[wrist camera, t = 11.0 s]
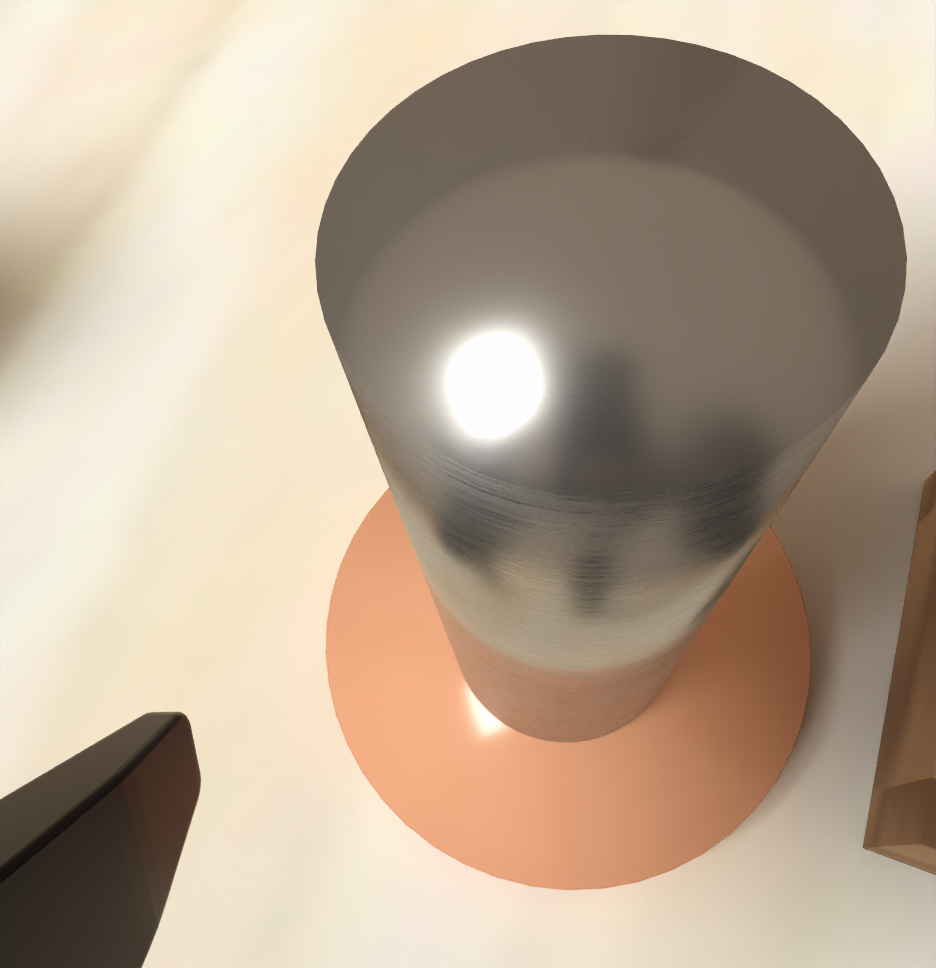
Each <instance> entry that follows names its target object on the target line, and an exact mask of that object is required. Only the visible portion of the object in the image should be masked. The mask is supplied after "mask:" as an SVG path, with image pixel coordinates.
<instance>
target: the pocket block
mask: <svg viewBox="0 0 936 968" xmlns="http://www.w3.org/2000/svg"><path fill="white" fill-rule="evenodd" d="M863 848H864V849H867V850H870V851H873V852H875V853H878V854H881V855H883V856H886V857H889V858H892V859H894V860H897V861H900V862H902V863H905V864H908V865H910V866H913V867H916V868H919V869H921V870H924V871H927V872H929V873H932V874H935V875H936V471H935V472H934V473H933V474H932V475H931V476H930V477H929V478H928V479H927V480H926V481H925V483H924V489H923V495H922V501H921V507H920V513H919V519H918V525H917V531H916V537H915V543H914V549H913V554H912V560H911V566H910V572H909V578H908V584H907V590H906V596H905V602H904V608H903V614H902V620H901V625H900V631H899V637H898V643H897V649H896V655H895V661H894V667H893V673H892V679H891V685H890V691H889V696H888V702H887V708H886V714H885V720H884V726H883V732H882V738H881V744H880V750H879V756H878V762H877V767H876V773H875V779H874V785H873V791H872V797H871V803H870V809H869V815H868V821H867V827H866V832H865V838H864V844H863Z"/></svg>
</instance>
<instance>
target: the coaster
mask: <svg viewBox="0 0 936 968" xmlns="http://www.w3.org/2000/svg"><path fill="white" fill-rule="evenodd" d="M326 660H327V670H328V681H329V686H330V691H331V695H332V700H333V704H334V708H335V713H336V716H337V718H338V721H339V724H340V726H341V729H342V732H343V734H344V737H345V740H346V742H347V745H348V746H349V748H350V750H351V752H352V754H353V756H354V758H355V759H356V761H357V763H358V765H359V767H360V769H361V771H362V772H363V774H364V775H365V777H366V778H367V779H368V781H369V782H370V784H371V785H372V786H373V788H374V789H375V790H376V792H377V793H378V795H379V796H380V797H381V799H382V800H383V801H384V802H385V803H386V804H387V805H388V806H389V807H390V808H391V809H392V810H393V812H394V813H395V814H396V815H397V816H398V817H399V818H400V819H401V820H402V821H403V822H404V823H405V824H406V825H407V826H408V827H410V828H411V829H412V830H414V831H415V832H416V833H417V834H419V835H420V836H421V837H422V838H424V839H425V840H426V841H427V842H429V843H430V844H431V845H433V846H434V847H436V848H437V849H439V850H441V851H443V852H444V853H446V854H448V855H449V856H451V857H453V858H454V859H456V860H458V861H460V862H461V863H463V864H465V865H468V866H470V867H472V868H475V869H477V870H480V871H482V872H485V873H487V874H489V875H492V876H494V877H497V878H501V879H505V880H509V881H513V882H517V883H521V884H525V885H528V886H534V887H543V888H553V889H562V890H579V889H603V888H609V887H614V886H619V885H625V884H630V883H635V882H639V881H642V880H645V879H648V878H651V877H654V876H657V875H660V874H662V873H665V872H668V871H671V870H673V869H675V868H677V867H679V866H681V865H683V864H685V863H687V862H688V861H690V860H692V859H694V858H696V857H698V856H700V855H702V854H703V853H705V852H706V851H708V850H709V849H710V848H712V847H713V846H714V845H716V844H717V843H718V842H720V841H721V840H723V839H724V838H725V837H727V836H728V835H729V834H731V833H732V832H733V831H734V830H735V829H736V828H737V827H738V826H739V825H740V824H741V823H742V822H743V821H744V820H745V819H746V818H747V817H748V816H749V815H750V814H751V813H752V812H753V811H754V810H755V809H756V807H757V806H758V805H759V803H760V802H761V801H762V799H763V798H764V797H765V795H766V794H767V793H768V791H769V790H770V789H771V787H772V786H773V785H774V783H775V782H776V780H777V778H778V776H779V774H780V773H781V771H782V769H783V767H784V765H785V763H786V761H787V759H788V758H789V756H790V754H791V752H792V749H793V746H794V743H795V741H796V738H797V735H798V732H799V729H800V727H801V724H802V721H803V716H804V711H805V706H806V701H807V696H808V691H809V680H810V663H811V652H810V640H809V627H808V621H807V617H806V612H805V607H804V603H803V598H802V594H801V591H800V588H799V586H798V583H797V580H796V577H795V574H794V572H793V569H792V566H791V564H790V562H789V560H788V558H787V556H786V554H785V552H784V550H783V548H782V546H781V544H780V542H779V540H778V538H777V537H776V535H775V534H774V532H773V531H772V529H771V528H770V527H768V528H767V530H766V531H765V533H764V534H763V536H762V537H761V539H760V540H759V542H758V543H757V545H756V546H755V548H754V549H753V551H752V552H751V554H750V555H749V557H748V558H747V560H746V561H745V563H744V564H743V566H742V567H741V569H740V570H739V572H738V573H737V575H736V576H735V578H734V579H733V581H732V582H731V584H730V585H729V587H728V588H727V590H726V591H725V593H724V594H723V596H722V597H721V599H720V600H719V602H718V603H717V605H716V606H715V608H714V609H713V611H712V612H711V614H710V615H709V617H708V618H707V620H706V621H705V623H704V624H703V626H702V627H701V629H700V630H699V632H698V633H697V635H696V636H695V638H694V639H693V641H692V642H691V644H690V645H689V647H688V648H687V650H686V651H685V653H684V654H683V656H682V657H681V659H680V660H679V662H678V663H677V665H676V666H675V668H674V669H673V671H672V672H671V674H670V675H669V677H668V678H667V680H666V681H665V683H664V684H663V686H662V687H661V689H660V690H659V692H658V693H657V695H656V696H655V698H654V699H653V701H652V702H651V703H650V704H649V705H648V707H647V708H646V709H645V710H644V711H643V712H642V713H641V714H640V715H639V716H637V717H636V718H635V719H634V720H633V721H632V722H630V723H628V724H627V725H625V726H624V727H622V728H621V729H619V730H617V731H615V732H612V733H610V734H608V735H606V736H603V737H599V738H596V739H593V740H588V741H581V742H564V743H561V742H552V741H545V740H541V739H537V738H533V737H530V736H527V735H525V734H522V733H520V732H517V731H516V730H514V729H512V728H510V727H509V726H507V725H505V724H503V723H502V722H501V721H499V720H498V719H497V718H495V717H494V716H493V715H492V714H491V713H490V712H489V711H488V710H487V709H485V708H484V707H483V706H482V705H481V703H480V702H479V701H478V699H477V698H476V697H475V696H474V694H473V693H472V691H471V690H470V688H469V686H468V685H467V683H466V681H465V679H464V677H463V674H462V672H461V670H460V667H459V665H458V662H457V660H456V657H455V654H454V652H453V649H452V647H451V644H450V642H449V639H448V636H447V634H446V631H445V629H444V626H443V624H442V621H441V618H440V616H439V613H438V611H437V608H436V606H435V603H434V600H433V598H432V595H431V593H430V590H429V588H428V585H427V582H426V580H425V577H424V575H423V572H422V570H421V567H420V564H419V562H418V559H417V557H416V554H415V552H414V549H413V546H412V544H411V541H410V539H409V536H408V534H407V531H406V528H405V526H404V523H403V521H402V518H401V516H400V513H399V510H398V508H397V505H396V503H395V500H394V498H393V495H392V492H391V490H390V488H389V489H388V490H387V491H386V492H385V493H384V494H383V495H382V496H381V498H380V499H379V500H378V501H377V503H376V504H375V505H374V506H373V508H372V509H371V510H370V511H369V513H368V514H367V515H366V517H365V519H364V520H363V522H362V524H361V525H360V527H359V529H358V530H357V532H356V533H355V535H354V537H353V538H352V540H351V543H350V545H349V547H348V549H347V551H346V554H345V556H344V558H343V560H342V563H341V565H340V568H339V571H338V575H337V578H336V581H335V584H334V588H333V591H332V595H331V601H330V607H329V613H328V619H327V634H326Z"/></svg>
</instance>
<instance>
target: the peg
mask: <svg viewBox="0 0 936 968" xmlns="http://www.w3.org/2000/svg"><path fill="white" fill-rule="evenodd" d="M906 262H907V256H906V248H905V240H904V232H903V225H902V222H901V219H900V216H899V212H898V209H897V206H896V202H895V199H894V196H893V194H892V192H891V190H890V188H889V186H888V184H887V182H886V180H885V178H884V176H883V174H882V172H881V170H880V168H879V167H878V165H877V164H876V162H875V161H874V159H873V158H872V157H871V155H870V154H869V152H868V151H867V149H866V148H865V146H864V145H863V144H862V142H861V141H860V140H859V139H858V138H857V137H856V136H855V135H854V134H853V133H852V131H851V130H850V129H849V128H848V127H847V126H846V125H845V124H844V123H843V122H842V121H841V120H840V119H839V118H838V117H837V116H836V115H834V114H833V113H832V112H831V111H830V110H829V109H827V108H826V107H825V106H824V105H823V104H822V103H820V102H819V101H818V100H817V99H815V98H814V97H812V96H811V95H809V94H808V93H806V92H805V91H803V90H802V89H800V88H799V87H797V86H796V85H794V84H793V83H791V82H790V81H788V80H786V79H784V78H782V77H780V76H778V75H776V74H774V73H772V72H771V71H769V70H767V69H765V68H763V67H761V66H758V65H756V64H753V63H751V62H748V61H746V60H743V59H741V58H738V57H736V56H733V55H731V54H728V53H724V52H721V51H717V50H714V49H710V48H707V47H703V46H700V45H696V44H691V43H685V42H680V41H675V40H670V39H664V38H654V37H644V36H634V35H589V36H576V37H564V38H558V39H552V40H546V41H540V42H534V43H529V44H526V45H522V46H518V47H514V48H510V49H506V50H502V51H499V52H497V53H494V54H491V55H488V56H485V57H483V58H480V59H477V60H474V61H472V62H469V63H467V64H465V65H463V66H461V67H459V68H457V69H454V70H452V71H450V72H448V73H446V74H444V75H442V76H440V77H439V78H437V79H435V80H434V81H432V82H430V83H429V84H427V85H425V86H424V87H422V88H420V89H419V90H417V91H415V92H414V93H413V94H412V95H410V96H409V97H408V98H406V99H405V100H404V101H402V102H401V103H400V104H398V105H397V106H396V107H394V108H393V109H392V110H391V111H390V112H389V113H388V114H387V115H386V116H384V117H383V118H382V119H381V120H380V121H379V122H378V123H377V124H376V125H375V126H374V127H373V128H372V129H371V130H370V131H369V132H368V134H367V135H366V136H365V137H364V138H363V140H362V141H361V142H360V143H359V145H358V146H357V147H356V148H355V150H354V151H353V152H352V153H351V155H350V157H349V158H348V160H347V161H346V163H345V165H344V166H343V168H342V170H341V171H340V173H339V175H338V176H337V178H336V180H335V182H334V185H333V187H332V189H331V192H330V194H329V197H328V199H327V201H326V204H325V207H324V211H323V214H322V218H321V222H320V226H319V230H318V236H317V247H316V258H315V265H316V279H317V291H318V295H319V300H320V304H321V308H322V312H323V316H324V320H325V323H326V325H327V328H328V330H329V333H330V336H331V338H332V341H333V343H334V346H335V348H336V351H337V354H338V356H339V359H340V361H341V364H342V366H343V369H344V372H345V374H346V377H347V379H348V382H349V384H350V387H351V390H352V392H353V395H354V397H355V400H356V402H357V405H358V408H359V410H360V413H361V415H362V418H363V420H364V423H365V426H366V428H367V431H368V433H369V436H370V438H371V441H372V444H373V446H374V449H375V451H376V454H377V456H378V459H379V462H380V464H381V467H382V469H383V472H384V474H385V477H386V480H387V482H388V485H389V487H390V490H391V492H392V495H393V498H394V500H395V503H396V505H397V508H398V510H399V513H400V516H401V518H402V521H403V523H404V526H405V528H406V531H407V534H408V536H409V539H410V541H411V544H412V546H413V549H414V552H415V554H416V557H417V559H418V562H419V564H420V567H421V570H422V572H423V575H424V577H425V580H426V582H427V585H428V588H429V590H430V593H431V595H432V598H433V600H434V603H435V606H436V608H437V611H438V613H439V616H440V618H441V621H442V624H443V626H444V629H445V631H446V634H447V636H448V639H449V642H450V644H451V647H452V649H453V652H454V654H455V657H456V660H457V662H458V665H459V667H460V670H461V672H462V674H463V677H464V679H465V681H466V683H467V685H468V686H469V688H470V690H471V691H472V693H473V694H474V696H475V697H476V698H477V699H478V701H479V702H480V703H481V705H482V706H483V707H484V708H485V709H487V710H488V711H489V712H490V713H491V714H492V715H493V716H494V717H495V718H497V719H498V720H499V721H501V722H502V723H503V724H505V725H507V726H509V727H510V728H512V729H514V730H516V731H517V732H520V733H522V734H525V735H527V736H530V737H533V738H537V739H541V740H545V741H552V742H561V743H564V742H581V741H588V740H593V739H596V738H599V737H603V736H606V735H608V734H610V733H612V732H615V731H617V730H619V729H621V728H622V727H624V726H625V725H627V724H628V723H630V722H632V721H633V720H634V719H635V718H636V717H637V716H639V715H640V714H641V713H642V712H643V711H644V710H645V709H646V708H647V707H648V705H649V704H650V703H651V702H652V701H653V699H654V698H655V696H656V695H657V693H658V692H659V690H660V689H661V687H662V686H663V684H664V683H665V681H666V680H667V678H668V677H669V675H670V674H671V672H672V671H673V669H674V668H675V666H676V665H677V663H678V662H679V660H680V659H681V657H682V656H683V654H684V653H685V651H686V650H687V648H688V647H689V645H690V644H691V642H692V641H693V639H694V638H695V636H696V635H697V633H698V632H699V630H700V629H701V627H702V626H703V624H704V623H705V621H706V620H707V618H708V617H709V615H710V614H711V612H712V611H713V609H714V608H715V606H716V605H717V603H718V602H719V600H720V599H721V597H722V596H723V594H724V593H725V591H726V590H727V588H728V587H729V585H730V584H731V582H732V581H733V579H734V578H735V576H736V575H737V573H738V572H739V570H740V569H741V567H742V566H743V564H744V563H745V561H746V560H747V558H748V557H749V555H750V554H751V552H752V551H753V549H754V548H755V546H756V545H757V543H758V542H759V540H760V539H761V537H762V536H763V534H764V533H765V531H766V530H767V528H768V527H769V525H770V524H771V522H772V521H773V519H774V518H775V516H776V515H777V513H778V512H779V510H780V509H781V507H782V506H783V504H784V503H785V501H786V500H787V498H788V497H789V495H790V494H791V492H792V491H793V489H794V488H795V486H796V485H797V483H798V482H799V480H800V479H801V477H802V475H803V474H804V472H805V471H806V469H807V468H808V466H809V465H810V463H811V462H812V460H813V459H814V457H815V456H816V454H817V453H818V451H819V450H820V448H821V447H822V445H823V444H824V442H825V441H826V439H827V438H828V436H829V435H830V433H831V432H832V430H833V429H834V427H835V426H836V424H837V423H838V421H839V420H840V418H841V417H842V415H843V414H844V412H845V411H846V409H847V408H848V406H849V405H850V403H851V402H852V400H853V399H854V397H855V396H856V394H857V393H858V391H859V390H860V388H861V387H862V385H863V384H864V382H865V381H866V379H867V378H868V376H869V375H870V373H871V372H872V370H873V368H874V367H875V365H876V364H877V362H878V361H879V359H880V358H881V356H882V355H883V353H884V351H885V349H886V347H887V344H888V342H889V340H890V337H891V335H892V333H893V330H894V328H895V326H896V323H897V321H898V317H899V313H900V309H901V304H902V300H903V296H904V292H905V282H906Z"/></svg>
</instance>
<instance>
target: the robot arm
mask: <svg viewBox="0 0 936 968" xmlns="http://www.w3.org/2000/svg"><path fill="white" fill-rule="evenodd" d="M200 785H201V776H200V769H199V764H198V759H197V755H196V750H195V745H194V740H193V735H192V730H191V725H190V722H189V720H188V718H187V716H186V715H184V714H183V713H182V712H151V713H146V714H144V715H143V716H141V717H139V718H137V719H136V720H134V721H132V722H131V723H129V724H127V725H126V726H124V727H122V728H120V729H119V730H117V731H115V732H114V733H112V734H110V735H109V736H107V737H105V738H104V739H102V740H100V741H98V742H97V743H95V744H93V745H92V746H90V747H88V748H87V749H85V750H83V751H81V752H80V753H78V754H76V755H75V756H73V757H71V758H70V759H68V760H66V761H64V762H63V763H61V764H59V765H58V766H56V767H54V768H53V769H51V770H49V771H48V772H46V773H44V774H42V775H41V776H39V777H37V778H36V779H34V780H32V781H31V782H29V783H27V784H25V785H24V786H22V787H20V788H19V789H17V790H15V791H14V792H12V793H10V794H8V795H7V796H5V797H3V798H2V799H0V968H142V965H143V963H144V961H145V958H146V956H147V954H148V951H149V949H150V946H151V944H152V941H153V939H154V936H155V934H156V931H157V929H158V926H159V923H160V920H161V917H162V914H163V911H164V908H165V905H166V902H167V899H168V895H169V892H170V889H171V885H172V882H173V879H174V876H175V872H176V869H177V866H178V863H179V859H180V856H181V853H182V850H183V846H184V843H185V840H186V837H187V833H188V830H189V827H190V824H191V820H192V817H193V814H194V811H195V807H196V804H197V801H198V797H199V793H200Z"/></svg>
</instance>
